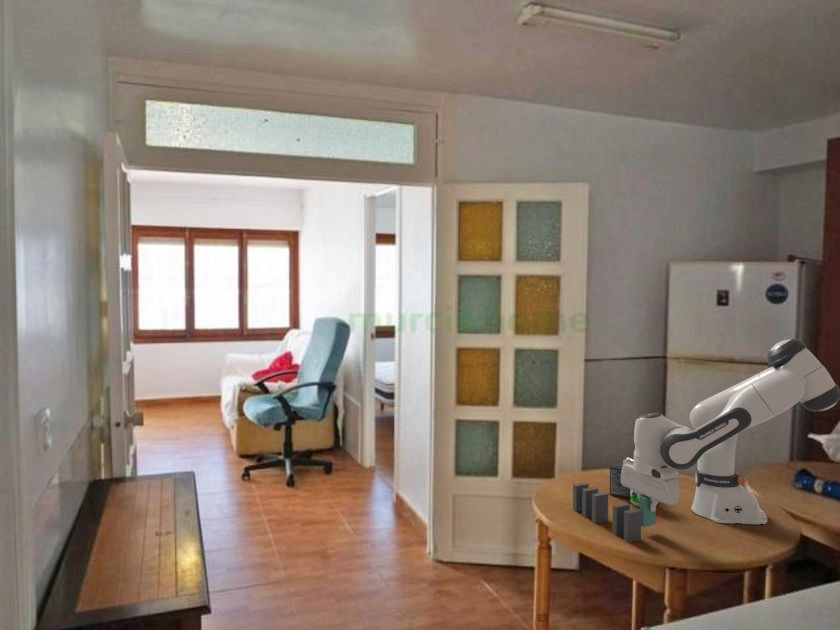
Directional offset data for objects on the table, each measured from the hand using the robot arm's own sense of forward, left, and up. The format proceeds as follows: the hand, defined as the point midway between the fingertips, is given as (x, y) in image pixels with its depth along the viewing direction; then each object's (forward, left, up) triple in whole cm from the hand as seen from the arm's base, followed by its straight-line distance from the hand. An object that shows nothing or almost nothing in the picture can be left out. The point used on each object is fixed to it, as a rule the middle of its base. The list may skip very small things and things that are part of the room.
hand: (647, 508), depth 186 cm
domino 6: (0, 0, -5) cm, 5 cm away
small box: (+6, -32, -8) cm, 33 cm away
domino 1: (+21, -13, -8) cm, 25 cm away
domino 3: (+14, -5, -8) cm, 17 cm away
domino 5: (+5, +7, -8) cm, 11 cm away
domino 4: (+8, +3, -8) cm, 11 cm away
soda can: (+1, -24, -8) cm, 25 cm away
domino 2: (+18, -9, -8) cm, 21 cm away
